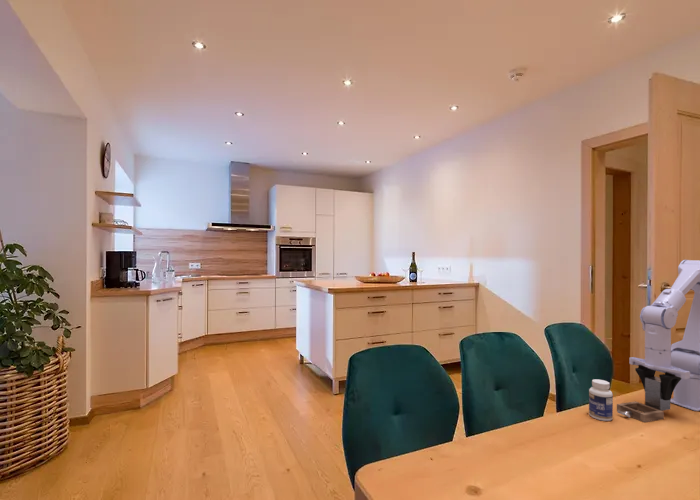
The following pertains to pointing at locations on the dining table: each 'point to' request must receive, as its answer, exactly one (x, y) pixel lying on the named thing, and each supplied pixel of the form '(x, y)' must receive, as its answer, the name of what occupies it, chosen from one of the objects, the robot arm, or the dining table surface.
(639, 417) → the walnut clamp block
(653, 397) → the steel post
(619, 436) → the dining table surface
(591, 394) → the pill bottle
